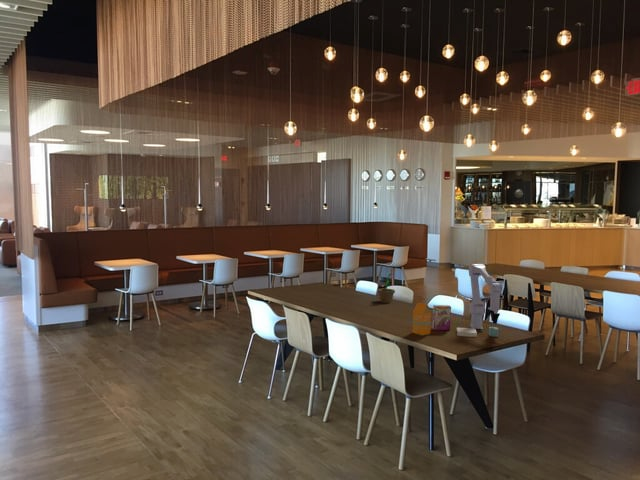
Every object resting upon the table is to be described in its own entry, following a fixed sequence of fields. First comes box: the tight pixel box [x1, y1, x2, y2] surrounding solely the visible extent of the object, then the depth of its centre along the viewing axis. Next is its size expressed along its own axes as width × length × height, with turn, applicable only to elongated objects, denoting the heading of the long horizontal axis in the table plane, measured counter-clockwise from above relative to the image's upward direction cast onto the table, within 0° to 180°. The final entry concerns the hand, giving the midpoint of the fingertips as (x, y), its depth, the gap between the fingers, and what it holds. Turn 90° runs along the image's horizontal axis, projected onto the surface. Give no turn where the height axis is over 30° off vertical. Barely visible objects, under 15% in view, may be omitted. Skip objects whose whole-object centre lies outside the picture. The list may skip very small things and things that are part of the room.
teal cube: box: [488, 326, 499, 338], centre depth 340 cm, size 5×5×5 cm
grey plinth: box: [456, 327, 478, 338], centre depth 342 cm, size 12×12×3 cm
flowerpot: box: [377, 267, 396, 304], centre depth 446 cm, size 14×14×30 cm
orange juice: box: [412, 302, 432, 336], centre depth 342 cm, size 8×9×20 cm
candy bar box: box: [431, 304, 452, 331], centre depth 353 cm, size 11×5×16 cm, turn 92°
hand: (494, 322), depth 339 cm, fingers open, 7 cm apart
